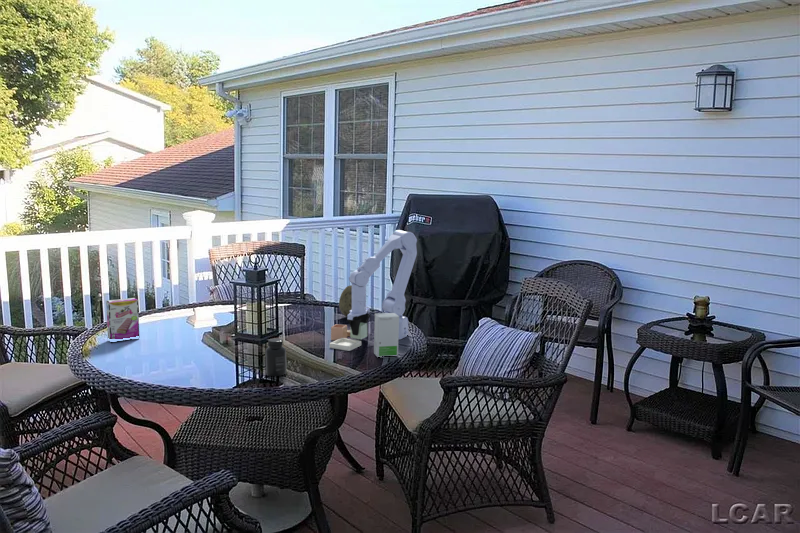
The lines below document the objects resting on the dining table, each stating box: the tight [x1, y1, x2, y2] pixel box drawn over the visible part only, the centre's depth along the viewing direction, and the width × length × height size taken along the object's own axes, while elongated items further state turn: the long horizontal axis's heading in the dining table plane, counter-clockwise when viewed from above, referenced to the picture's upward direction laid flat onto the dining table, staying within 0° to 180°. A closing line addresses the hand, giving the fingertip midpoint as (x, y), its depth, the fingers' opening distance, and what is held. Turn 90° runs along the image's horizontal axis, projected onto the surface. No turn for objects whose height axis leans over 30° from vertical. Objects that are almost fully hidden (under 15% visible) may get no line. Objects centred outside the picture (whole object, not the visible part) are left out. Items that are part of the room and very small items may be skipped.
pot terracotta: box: [330, 323, 348, 341], centre depth 266 cm, size 5×5×6 cm
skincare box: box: [373, 312, 400, 358], centre depth 244 cm, size 8×7×16 cm
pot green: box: [349, 322, 368, 340], centre depth 264 cm, size 5×5×6 cm
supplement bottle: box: [265, 337, 287, 377], centre depth 221 cm, size 7×7×12 cm
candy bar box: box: [105, 297, 140, 339], centre depth 259 cm, size 11×5×16 cm, turn 126°
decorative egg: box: [338, 284, 352, 318], centre depth 302 cm, size 11×11×15 cm
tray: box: [329, 338, 362, 352], centre depth 256 cm, size 9×9×2 cm
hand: (358, 333), depth 264 cm, fingers closed on pot green, 5 cm apart
